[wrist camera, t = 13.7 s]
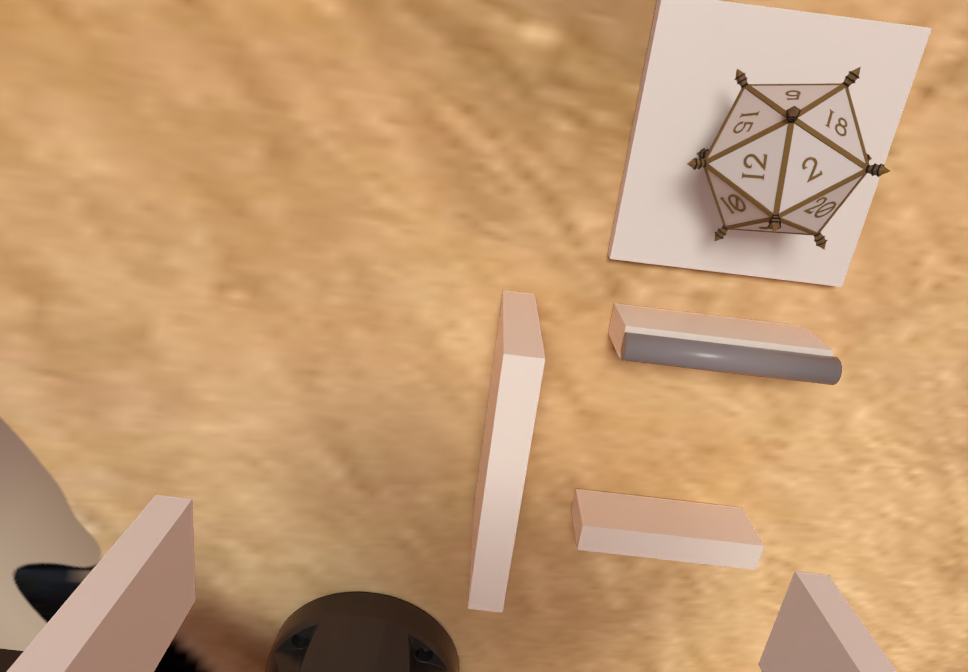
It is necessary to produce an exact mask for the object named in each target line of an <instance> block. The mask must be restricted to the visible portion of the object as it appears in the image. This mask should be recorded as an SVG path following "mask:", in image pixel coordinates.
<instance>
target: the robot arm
mask: <svg viewBox="0 0 968 672" xmlns="http://www.w3.org/2000/svg"><path fill="white" fill-rule="evenodd" d="M195 601H196V596H195V564H194V533H193V501H192V499H188V498H180V497H171V496H163V495H155V496H154V497H153V499H152V500H151V501H150V502H149V503H148V504H147V506H146V507H145V508H144V509H143V510H142V512H141V513H140V514H139V515H138V516H137V518H136V519H135V520H134V521H133V522H132V523H131V525H130V526H129V527H128V528H127V529H126V531H125V532H124V533H123V534H122V535H121V536H120V538H119V539H118V540H117V541H116V542H115V544H114V545H113V546H112V547H111V548H110V550H109V551H108V552H107V553H106V554H105V555H104V557H103V558H102V559H101V560H100V561H99V563H98V564H97V565H96V566H95V567H94V569H93V570H92V571H91V572H90V573H89V574H88V576H87V577H86V578H85V579H84V580H83V582H82V583H81V584H80V585H79V586H78V587H77V589H76V590H75V591H74V592H73V593H72V595H71V596H70V597H69V598H68V599H67V601H66V602H65V603H64V604H63V605H62V606H61V608H60V609H59V610H58V611H57V612H56V614H55V615H54V616H53V617H52V618H51V620H50V621H49V622H48V623H47V624H46V626H45V627H44V628H43V629H42V630H41V631H40V633H39V634H38V635H37V636H36V637H35V639H34V640H33V641H32V642H31V643H30V644H29V646H28V647H27V648H26V649H25V650H24V651H16V650H7V649H0V672H154V671H155V669H156V667H157V666H158V664H159V662H160V660H161V659H162V657H163V655H164V654H165V652H166V650H167V648H168V647H169V645H170V643H171V642H172V640H173V638H174V637H175V635H176V633H177V631H178V630H179V628H180V626H181V625H182V623H183V621H184V619H185V618H186V616H187V614H188V613H189V611H190V609H191V608H192V606H193V604H194V602H195ZM759 666H760V668H761V670H762V672H897V670H896V669H895V668H894V666H893V665H892V663H891V662H890V661H889V659H888V658H887V656H886V655H885V654H884V652H883V651H882V649H881V648H880V647H879V645H878V644H877V642H876V641H875V640H874V638H873V637H872V635H871V634H870V632H869V631H868V630H867V628H866V627H865V625H864V624H863V623H862V621H861V620H860V618H859V617H858V616H857V614H856V613H855V611H854V610H853V609H852V607H851V606H850V604H849V603H848V602H847V600H846V599H845V597H844V596H843V595H842V593H841V592H840V590H839V589H838V587H837V586H836V585H835V583H834V582H833V580H832V579H831V578H830V576H829V575H823V574H815V573H806V572H798V571H795V572H794V575H793V578H792V580H791V583H790V585H789V588H788V590H787V593H786V595H785V598H784V600H783V603H782V606H781V608H780V611H779V613H778V616H777V618H776V621H775V623H774V626H773V628H772V631H771V634H770V636H769V639H768V641H767V644H766V646H765V649H764V651H763V654H762V656H761V659H760V662H759ZM265 672H459V663H458V656H457V652H456V649H455V647H454V644H453V642H452V641H451V639H450V637H449V636H448V634H447V633H446V631H445V630H444V629H443V628H442V627H441V626H440V624H438V623H437V622H436V621H435V620H434V619H433V618H432V617H431V616H429V615H428V614H426V613H425V612H424V611H422V610H420V609H419V608H417V607H415V606H413V605H411V604H409V603H407V602H404V601H402V600H399V599H396V598H393V597H389V596H385V595H380V594H373V593H362V592H353V593H341V594H334V595H330V596H326V597H323V598H320V599H317V600H314V601H312V602H310V603H308V604H306V605H304V606H303V607H301V608H300V609H298V610H297V611H296V612H294V613H293V614H292V615H291V616H290V617H289V618H288V619H287V620H286V621H285V623H284V624H283V625H282V627H281V629H280V630H279V632H278V634H277V637H276V639H275V642H274V644H273V647H272V649H271V652H270V654H269V657H268V661H267V665H266V671H265Z"/></svg>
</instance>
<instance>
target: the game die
mask: <svg viewBox="0 0 968 672" xmlns="http://www.w3.org/2000/svg"><path fill="white" fill-rule="evenodd" d="M860 68H861V66H860V67H858V68H856V69H855V70H853V71H849V74H848V75H847V76H845V80H844V82H843V83H826V84H748V83H747V78H746V76H745V74H746V73H743V72H742V71H740V70H739V69H737V71H736V78H735V79H734V80H736V81H737V84H739V85H740V86H741V90H740V92H739V94H738V96H737V98H736V100H735V102H734V103H733V105H732V107H731V109H730V111H729V113H728V115H727V117H726V119H725V121H724V122H723V124H722V126H721V128H720V130H719V132H718V134H717V136H716V138H715V139H714V141H713V143H712V145H711V147H710V149H706V150H705V148H704V149H702V150H700V152H698V153H697V154H698V156H699V159H697V158H694V159H692V161H690V162H689V163H687V165H689V166H690V167H692V168H693V169H694V170H695V169H698V170H699V169H700V168H702V167H703V168H704V171H705V173H706V176H707V179H708V182H709V185H710V188H711V191H712V194H713V197H714V200H715V203H716V206H717V209H718V212H719V215H720V217H721V220H722V223H723V226H722V227H721V228H720V229H719V228H718V231H717V232H714V233H715V240H714V241H717V240H720V239H723V238H724V236H726V232H727V230H743V231H757V232H771V233H785V234H799V235H813V236H814V238H815V239H814V242H816V246H819V247H820V248H822V249H824V250H825V245H826V241H827V240H826V239H825V238H824V237H825V236H823V235H822V234H821V231H822V229H823V228H824V227H825V226H826V224H827V223H828V222H829V221H830V219H831V218H832V217H833V216H834V214H835V213H836V212H837V211H838V209H839V208H840V207H841V206H842V204H843V203H844V202H845V201H846V199H847V198H848V197H849V196H850V194H851V193H852V192H853V190H854V189H855V188H856V187H857V185H858V184H859V183H860V182H861V180H862V179H863V178H864V177H865V175H866V174H867V173H869V174H871V175H872V176H874V175H876V176H877V177H879V176H881V175H882V174H885V173H887V172H889V171H890V170H888V169H887V168H885V167H884V165H883V164H880V165H877V164H876V163H874V165H870V164H869V161H870V160H871V159H872V158H871V157H870V155H868V154H867V153H866V150H865V146H864V143H863V139H862V135H861V132H860V128H859V124H858V121H857V117H856V114H855V110H854V106H853V103H852V99H851V95H850V92H849V86H850V85H851V84H853V83H855V81H856V80H857V79H859V73H860ZM702 159H704V160H702Z"/></svg>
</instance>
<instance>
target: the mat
mask: <svg viewBox="0 0 968 672" xmlns="http://www.w3.org/2000/svg"><path fill="white" fill-rule="evenodd" d="M931 29H932V28H927V27H919V26H911V25H904V24H896V23H888V22H880V21H873V20H865V19H857V18H850V17H842V16H834V15H826V14H819V13H811V12H803V11H796V10H788V9H780V8H772V7H765V6H757V5H749V4H742V3H734V2H726V1H718V0H657V4H656V9H655V14H654V19H653V24H652V29H651V34H650V39H649V44H648V50H647V55H646V60H645V65H644V70H643V75H642V80H641V85H640V90H639V96H638V101H637V106H636V111H635V116H634V121H633V126H632V131H631V136H630V142H629V147H628V152H627V157H626V162H625V167H624V172H623V177H622V182H621V188H620V193H619V198H618V203H617V208H616V213H615V218H614V223H613V228H612V234H611V239H610V244H609V249H608V254H607V255H608V256H609V258H610V259H615V260H623V261H631V262H640V263H648V264H656V265H664V266H673V267H681V268H689V269H697V270H706V271H714V272H722V273H731V274H739V275H747V276H755V277H764V278H772V279H780V280H788V281H797V282H805V283H813V284H821V285H830V286H838V287H842V285H843V282H844V280H845V277H846V274H847V271H848V268H849V265H850V262H851V259H852V256H853V254H854V251H855V248H856V245H857V242H858V239H859V236H860V233H861V230H862V228H863V225H864V222H865V219H866V216H867V213H868V210H869V207H870V205H871V202H872V199H873V196H874V193H875V190H876V187H877V184H878V181H879V179H880V176H879V177H877V176H876V175H874V176H872V175H871V174H869V173H867V174H866V175H865V177H864V178H863V179H862V180H861V182H860V183H859V184H858V185H857V187H856V188H855V189H854V190H853V192H852V193H851V194H850V196H849V197H848V198H847V199H846V201H845V202H844V203H843V204H842V206H841V207H840V208H839V209H838V211H837V212H836V213H835V214H834V216H833V217H832V218H831V219H830V221H829V222H828V223H827V224H826V226H825V227H824V228H823V229H822V231H821V234H822V235H823V236H825V237H824V238H825V239H826V240H827V241H826V245H825V250H824V249H822V248H820V247H819V246H816V242H814V239H815V238H814V236H813V235H799V234H785V233H771V232H757V231H743V230H727V232H726V236H724V238H723V239H720V240H717V241H714V240H715V233H714V232H717V231H718V228H719V229H720V228H721V227H722V226H723V223H722V220H721V217H720V215H719V212H718V209H717V206H716V203H715V200H714V197H713V194H712V191H711V188H710V185H709V182H708V179H707V176H706V173H705V171H704V168H703V167H702V168H700V169H699V170H698V169H695V170H694V169H693V168H692V167H690V166H689V165H687V163H689V162H690V161H692V159H694V158H697V159H699V156H698V154H697V153H698V152H700V150H702V149H704V148H705V150H706V149H710V147H711V145H712V143H713V141H714V139H715V138H716V136H717V134H718V132H719V130H720V128H721V126H722V124H723V122H724V121H725V119H726V117H727V115H728V113H729V111H730V109H731V107H732V105H733V103H734V102H735V100H736V98H737V96H738V94H739V92H740V90H741V86H740V85H739V84H737V81H736V80H734V79H735V78H736V71H737V69H739V70H740V71H742V72H743V73H746V74H745V76H746V78H747V83H748V84H826V83H843V82H844V80H845V76H847V75H848V74H849V71H853V70H855V69H856V68H858V67H860V66H861V68H860V73H859V79H857V80H856V81H855V83H853V84H851V85H850V86H849V92H850V95H851V99H852V103H853V106H854V110H855V114H856V117H857V121H858V124H859V128H860V132H861V135H862V139H863V143H864V146H865V150H866V153H867V154H868V155H870V157H871V158H872V159H871V160H870V161H869V164H870V165H874V163H876V164H877V165H880V164H883V165H884V164H885V161H886V158H887V156H888V153H889V150H890V147H891V144H892V141H893V138H894V135H895V132H896V130H897V127H898V124H899V121H900V118H901V115H902V112H903V109H904V106H905V104H906V101H907V98H908V95H909V92H910V89H911V86H912V83H913V81H914V78H915V75H916V72H917V69H918V66H919V63H920V60H921V57H922V55H923V52H924V49H925V46H926V43H927V40H928V37H929V34H930V32H931ZM702 160H704V159H702Z"/></svg>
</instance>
